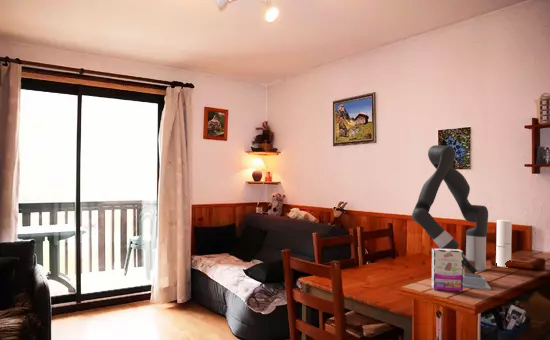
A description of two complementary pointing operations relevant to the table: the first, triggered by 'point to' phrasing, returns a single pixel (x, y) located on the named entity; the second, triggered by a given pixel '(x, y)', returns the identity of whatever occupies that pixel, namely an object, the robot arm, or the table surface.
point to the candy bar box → (447, 269)
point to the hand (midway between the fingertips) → (474, 271)
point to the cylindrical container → (503, 242)
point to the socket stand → (475, 281)
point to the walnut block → (467, 268)
